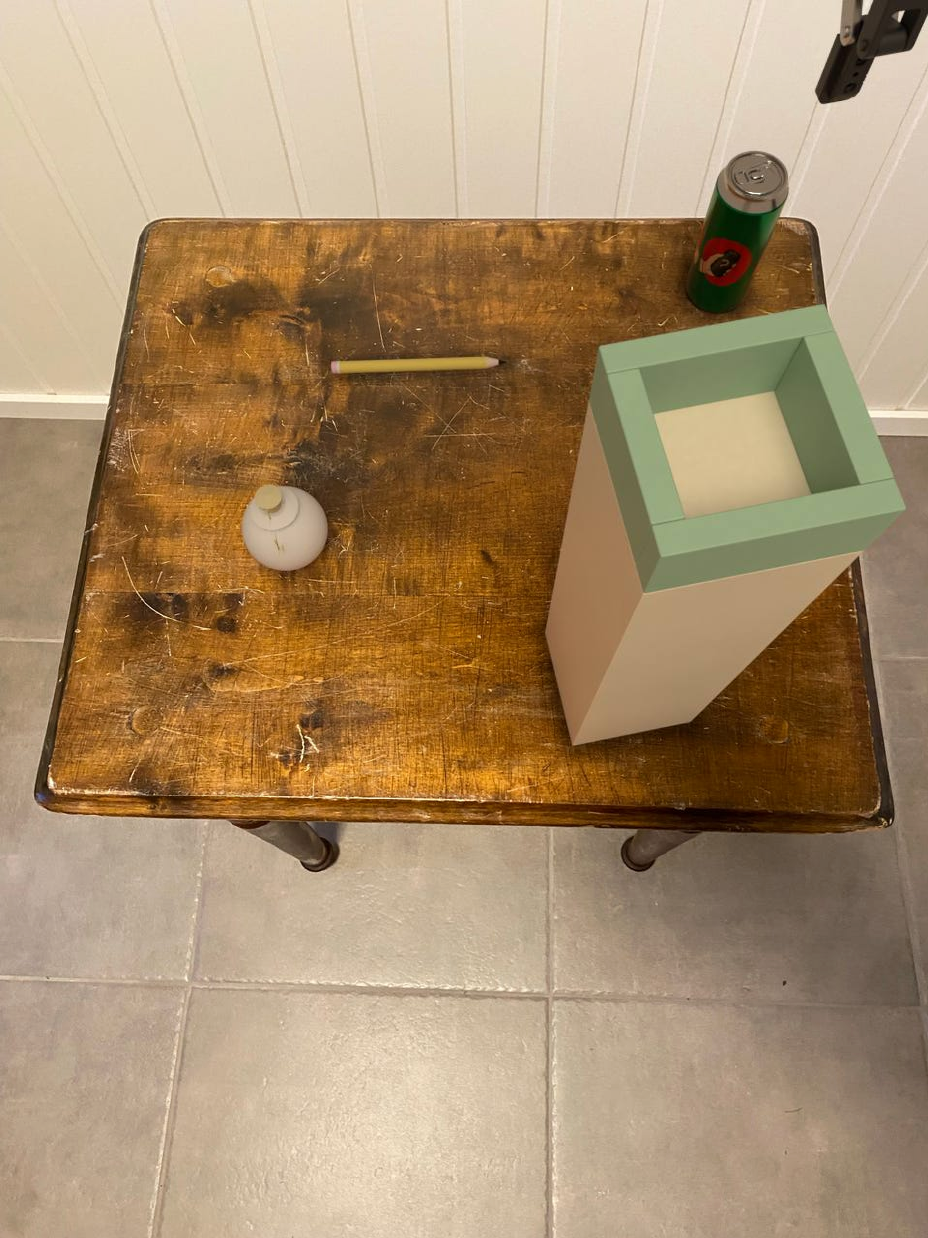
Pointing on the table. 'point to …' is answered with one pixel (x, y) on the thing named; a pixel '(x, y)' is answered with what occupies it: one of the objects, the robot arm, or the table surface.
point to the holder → (707, 513)
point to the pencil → (414, 364)
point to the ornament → (284, 527)
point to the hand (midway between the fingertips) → (807, 42)
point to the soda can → (737, 230)
